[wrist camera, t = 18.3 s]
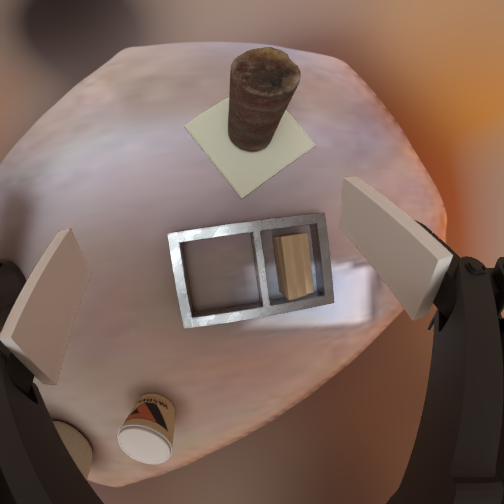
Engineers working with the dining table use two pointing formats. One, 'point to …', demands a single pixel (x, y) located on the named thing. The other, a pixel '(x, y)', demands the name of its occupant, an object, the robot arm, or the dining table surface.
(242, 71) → the dark brown tall cylinder
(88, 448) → the canister
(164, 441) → the coffee cup
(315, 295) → the offcut rack
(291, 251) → the offcut stack
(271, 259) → the dining table surface
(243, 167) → the mat
